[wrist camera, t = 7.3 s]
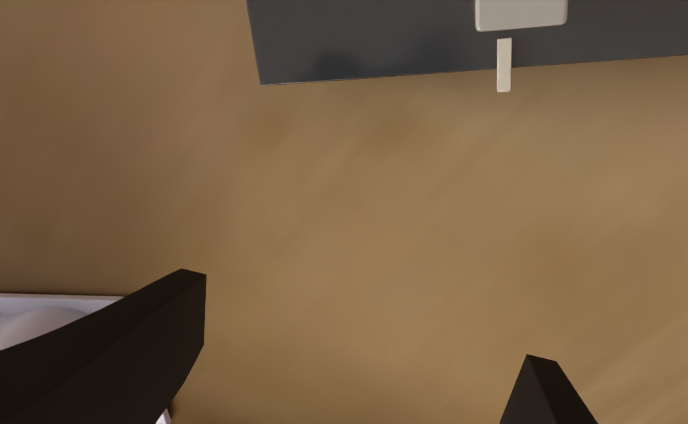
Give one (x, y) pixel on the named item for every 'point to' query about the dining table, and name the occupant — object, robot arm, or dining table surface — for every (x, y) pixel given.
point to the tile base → (449, 38)
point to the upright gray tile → (518, 14)
